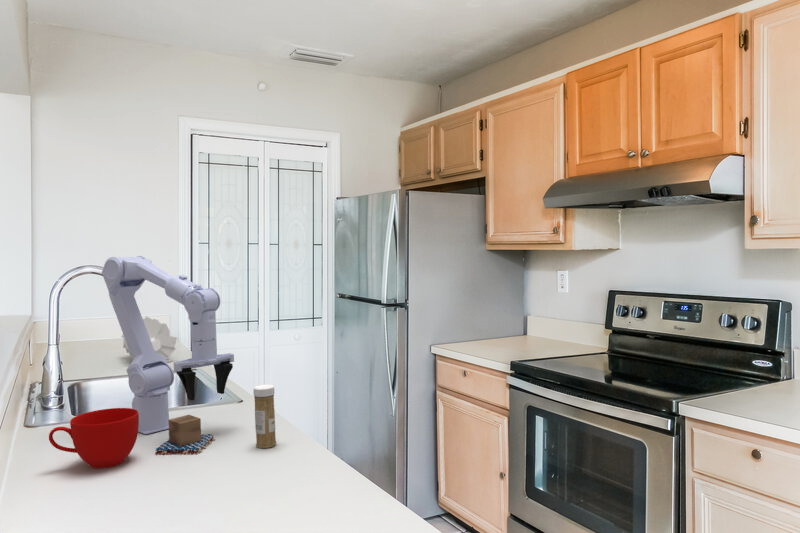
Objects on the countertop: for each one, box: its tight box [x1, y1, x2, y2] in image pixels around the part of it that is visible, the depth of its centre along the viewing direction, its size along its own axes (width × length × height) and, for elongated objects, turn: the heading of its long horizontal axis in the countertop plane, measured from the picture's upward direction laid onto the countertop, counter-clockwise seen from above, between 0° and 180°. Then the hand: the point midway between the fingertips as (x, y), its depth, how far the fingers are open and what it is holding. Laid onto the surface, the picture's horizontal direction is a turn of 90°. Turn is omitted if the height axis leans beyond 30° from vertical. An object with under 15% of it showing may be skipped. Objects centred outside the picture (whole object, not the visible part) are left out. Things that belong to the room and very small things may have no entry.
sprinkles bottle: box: [253, 384, 277, 449], centre depth 134 cm, size 5×5×14 cm
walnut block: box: [168, 414, 202, 446], centre depth 135 cm, size 5×5×5 cm
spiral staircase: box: [121, 315, 178, 361], centre depth 245 cm, size 18×18×25 cm
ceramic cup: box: [48, 407, 139, 469], centre depth 126 cm, size 13×17×10 cm
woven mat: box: [154, 433, 216, 456], centre depth 135 cm, size 10×11×2 cm
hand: (206, 396), depth 143 cm, fingers open, 7 cm apart
